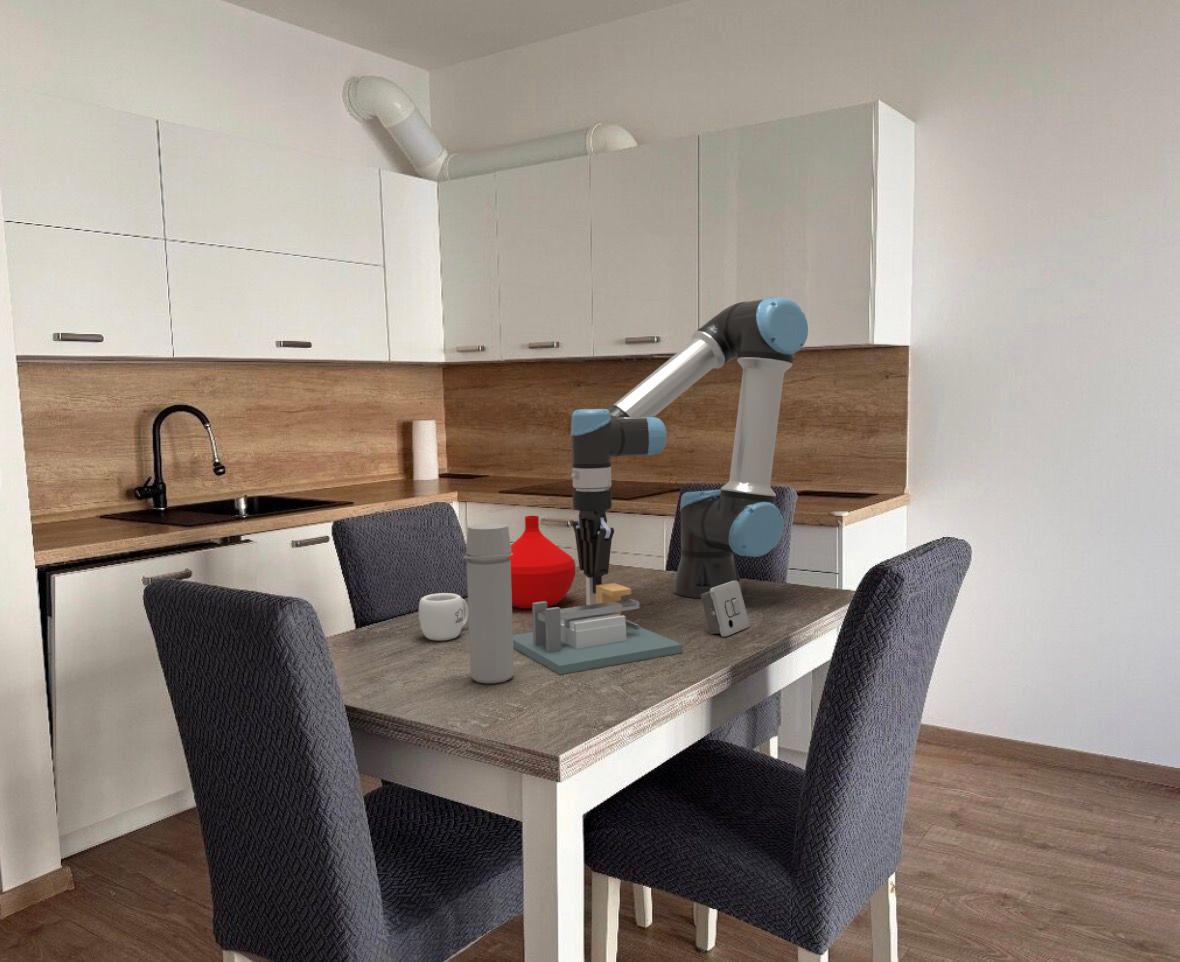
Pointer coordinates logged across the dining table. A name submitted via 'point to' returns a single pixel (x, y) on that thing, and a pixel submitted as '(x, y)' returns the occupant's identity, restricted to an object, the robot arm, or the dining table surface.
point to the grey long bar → (594, 609)
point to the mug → (442, 615)
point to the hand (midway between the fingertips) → (594, 608)
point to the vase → (538, 568)
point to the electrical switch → (725, 609)
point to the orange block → (610, 593)
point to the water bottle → (490, 603)
